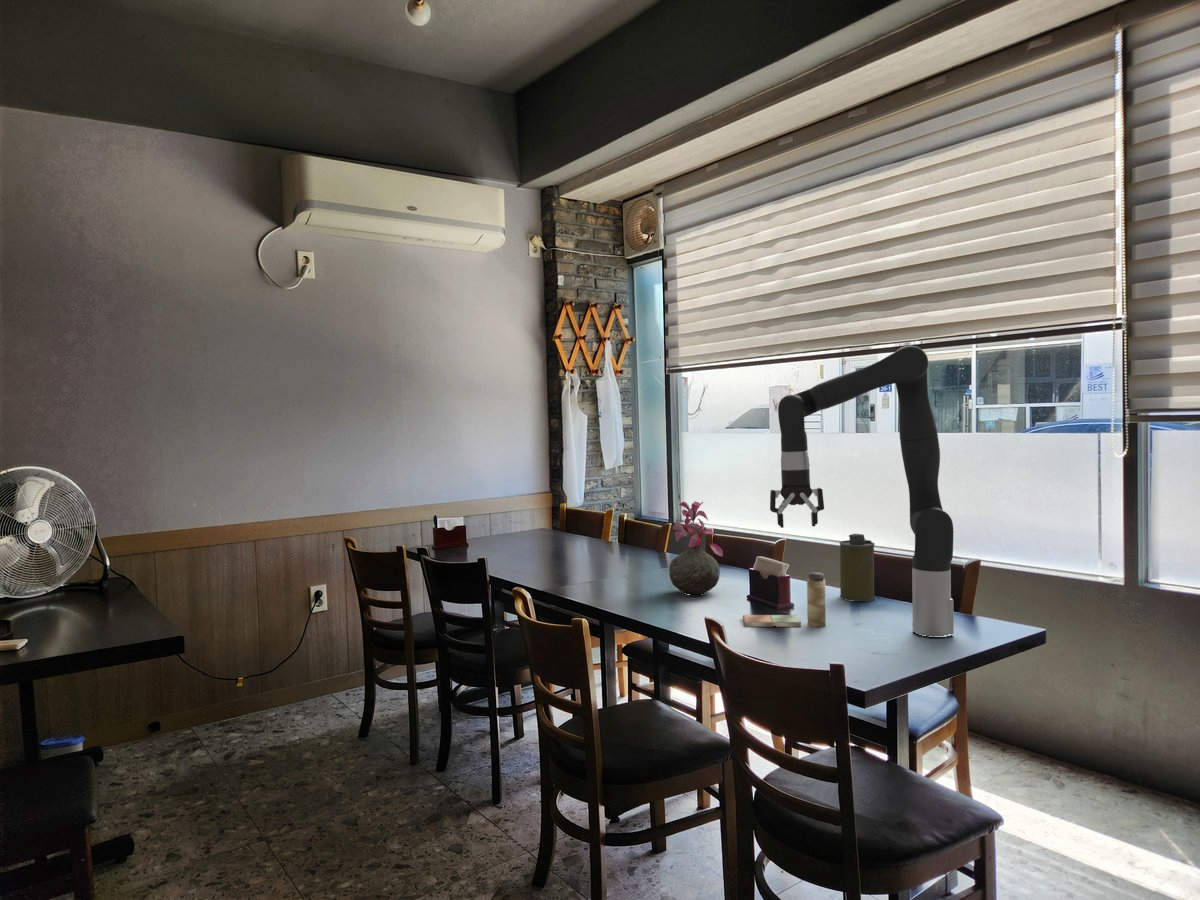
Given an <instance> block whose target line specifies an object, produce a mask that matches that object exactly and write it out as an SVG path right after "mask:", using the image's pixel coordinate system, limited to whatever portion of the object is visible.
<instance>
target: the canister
mask: <svg viewBox="0 0 1200 900" xmlns="http://www.w3.org/2000/svg"><path fill="white" fill-rule="evenodd" d="M848 537H849V539H848V540H841V541H839V553H840V554H839V558H840V560H839V561H840V563H839V564H840V565H839V568H840V569H839V571H840V573H839V575H840V579H839V580H840V581H839V582H840V588H839V589H840V594H839V598H840V597H841V598H840V599H842V598H843V599H842V600H844V599H847V600H854V601H853V602H856V601H866V602H871V601H870V600H872V601H874V600H875V599H874V597H875V542H873V541H872V540H869V539H866V538H865V534H862V533H861V534H860V533H852V534H849V535H848ZM873 599H874V600H873ZM847 600H846V601H847Z"/></svg>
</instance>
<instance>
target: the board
mask: <svg viewBox="0 0 1200 900" xmlns="http://www.w3.org/2000/svg"><path fill="white" fill-rule="evenodd" d="M742 620H743V624H744V626H745V627H765V628H766V627H772V628H773V626H776V628H777V627H782V628H783V627H785V628H787V627H792V628H793V627H794V628H801V627H802V624H801V623H802V622H801V621H800V619H799V618H798V616H797V614H796V615H795V614H792V615H791V614H770V615H769V614H743V615H742Z"/></svg>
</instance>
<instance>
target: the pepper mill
mask: <svg viewBox="0 0 1200 900" xmlns="http://www.w3.org/2000/svg"><path fill="white" fill-rule="evenodd" d="M806 585H807V586H806V588H807V589H806V594H807V595H806V597H807V599H806V601H807V602H806V605H807V615H806V616H807V626H809V627H812V628H823V627H826V626H827V625H826V624H827V623H826V622H827V621H826V613H827V612H826V609H827V608H826V579H825V578H824V573H823V572H815V571H813V572H811V571H810V572H809V573H808V578H807V579H806Z"/></svg>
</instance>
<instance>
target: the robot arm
mask: <svg viewBox="0 0 1200 900" xmlns="http://www.w3.org/2000/svg"><path fill="white" fill-rule="evenodd" d="M928 368H929V358H928V355H927V353H926V352H925V351H924V350H923V349H921V348H920V347H918V346H915V345H905V346H901V347H899V348H898V349H897V350H895V352H893V353H891V354H889V355H888V356H886V357H885V358H883V359H881V360H878V361H876V362H875V363H872V364H870V365H867V366H865V367H863V368H859V369H857V370H855V371H851V372H848V373H845V374H842V375H840V376H839V375H838V376H836V377H833V378H831V379H828V380H826V381H825V380H824V382H820V383H818V384H816V385H813V386H812V387H811V388H809V389H806V390H803V391H801V392H797V393H794V394H787V395H784V396H783V397H782V398H781V399H780V400H779V402H778V406H777V416H778V423H779V430H780V446H781V447H780V451H781V454H780V455H781V456H780V471H781V473H780V474H781V475H780V476H781V489H780V490H779V489H778V490H777V489H776V490H775V489H770V493H769V494H770V495H769V511H771V512H772V513H775V514H776V516H777V518H776V519H777V525H778V526H779V528H783V529H784V528H785V527H784V525H785V524H784V514H783V512H784V511H785V509H787V507H788V506H789V505H790V506H796V505H800V506H804V505H805V504H806V506H807V507H808V508H809V509H810V510H811V512H810V514H811V515H810V519H811V520H810V521H811V527H816V525H818V523H819V520H818V514H819V513H818V512H821V511H823V510H825V503H824V493H823V489H822V488H821V487H817V488H811V478H810V477H811V475H810V472H811V471H810V466H811V464H810V457H809V451H808V436H807V432H806V429H805V427H806V426H805V424H806V423H805V418H806V417H808V416H811V415H812V414H816V413H818V412H820V411H823V410H827V409H830V408H833V407H836V406H838V405H841V404H843V403H845V402H848V401H850V400H853V399H856V398H857V397H860V396H862V395H864V394H867V393H869V392H871V391H874V390H876V389H878V388H883V387H886V386H888V385H892V384H895V387H896V392H897V396H898V405H899V406H898V407H899V410H898V433H899V434H898V435H899V442H900V450H901V451H900V452H901V456H902V462H903V468H904V473H905V477H906V482H907V485H908V497H909V525H910V529H911V530H912V532H913V534H914V553H913V556H912V560H911V561H912V563H911V565H912V566H911V567H912V570H911V571H912V573H911V574H912V576H911V577H912V578H911V579H912V583H911V584H912V585H911V586H912V587H911V588H912V589H911V590H912V591H911V592H912V593H911V594H912V595H911V596H912V597H911V598H912V603H911V604H912V608H911V609H912V613H911V614H912V617H911V618H912V625H911V626H912V633H913V632H915V633H917V634H921V635H926V636H944V635H948V634H954V632H955V631H954V628H955V627H954V622H955V621H954V613H955V612H954V609H955V608H954V599H953V598H952V595H951V594H952V593H951V591H952V589H951V588H952V584H951V583H952V582H951V581H952V578H951V577H952V574H951V573H952V572H951V570H952V568H951V567H952V566H951V565H952V564H951V563H952V561H953V558H954V557H953V556H954V523H953V519H952V518H951V516H950V515H949V514H948V513H947V512H946V511H944V510H943V505H942V502H941V496H940V492H939V484H938V483H939V473H940V466H941V465H940V464H941V463H940V462H941V448H940V442H939V434H938V429H937V423H936V420H935V417H934V414H933V409H932V407H931V403H930V399H929V391H928V387H929V386H928ZM812 494H813V495H814V496H815V497H816V499H817V506H815V505H814V503H812V501H811V500H810V497H811V496H812ZM779 495H780V496H782V498H783V500H782V502H781V503H780V505H779V506H778V508H777V507H776V499H777V498H778V497H779ZM954 635H955V634H954Z"/></svg>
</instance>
